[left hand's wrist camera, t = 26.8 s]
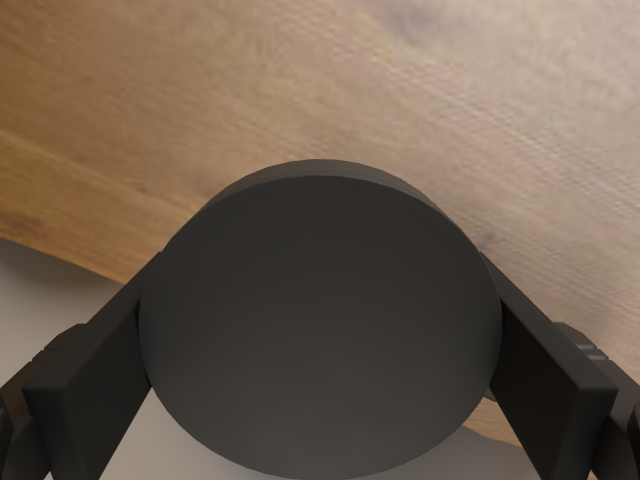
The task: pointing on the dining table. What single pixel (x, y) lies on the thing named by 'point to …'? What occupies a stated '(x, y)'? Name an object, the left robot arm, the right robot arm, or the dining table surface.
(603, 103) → the dining table surface
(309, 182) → the lid
